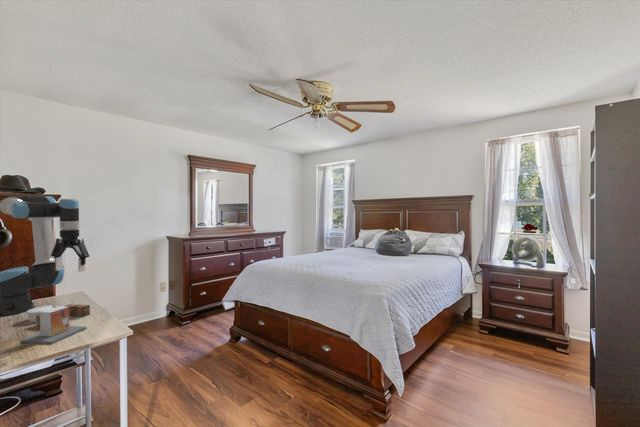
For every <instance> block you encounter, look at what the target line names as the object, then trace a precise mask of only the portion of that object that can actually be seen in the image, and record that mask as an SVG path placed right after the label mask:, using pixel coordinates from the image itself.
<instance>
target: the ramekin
mask: <svg viewBox="0 0 640 427" xmlns="http://www.w3.org/2000/svg"><path fill="white" fill-rule="evenodd" d="M56 307H58V306H57V305H52V304H51V305H50V304H49V305H48V304H47V305H42V306H37V307H34V308H33V309H30V310H28V311H25V313H26V315H27V318H28V321H29V322H30V323H37V317H36V315H39V314H40V312H43V311H46V310H49V309H53V308H56Z"/></svg>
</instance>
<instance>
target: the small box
mask: <svg viewBox="0 0 640 427" xmlns="http://www.w3.org/2000/svg"><path fill="white" fill-rule="evenodd" d="M65 306H66V305H64V306H63V305H61V306H60V305H58V306H57V307H56V308H53V309H49V310H46V311H43V312H40V326H39V327H40V332H41V336H47V337H52V336H54V335H56V334H59V333H62V332H64V331H67V330H69V326H70V316H69V307H65Z"/></svg>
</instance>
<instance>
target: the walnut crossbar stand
mask: <svg viewBox="0 0 640 427" xmlns="http://www.w3.org/2000/svg"><path fill="white" fill-rule="evenodd" d="M90 305H91V304H73V303H70V304H66V305H64V306H65V307H69V317H83V318H84V317H87V316H89V315H90V314H91V310H90ZM36 317H37V322H36V326H38V327H40V314H39V315H36Z"/></svg>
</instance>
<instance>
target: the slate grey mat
mask: <svg viewBox="0 0 640 427" xmlns="http://www.w3.org/2000/svg"><path fill="white" fill-rule="evenodd" d="M85 330H87V326H82V325H81V326H77V325H74V326H73V325H69V330H67V331H64V332H62V333H59V334H56V335H54V336H52V337H47V336H41V331H40V332H37V333H35V334H33V335H30V336H27V337H25V338H22V339H20V340H21V341H20V342H21V343H30V344H44V345H45V344H46V345H47V344H48V345H53V344H56V343H58V342H60V341H62V340H65V339H66V338H70V337H72V336H73V335H76V334H78V333H81V332H82V331H83V332H84V331H85Z"/></svg>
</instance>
